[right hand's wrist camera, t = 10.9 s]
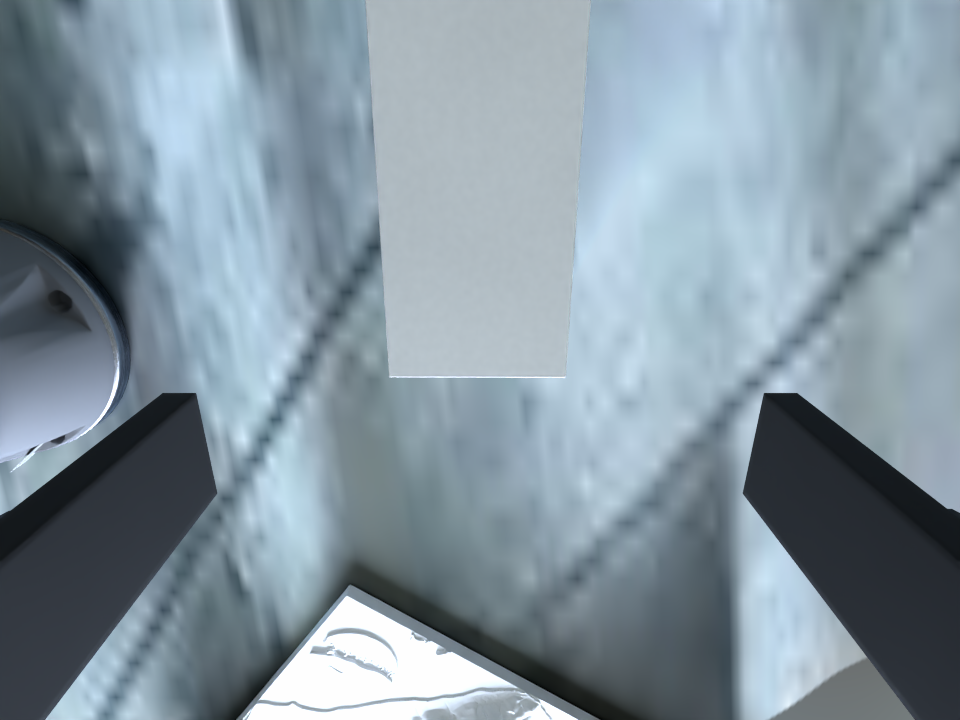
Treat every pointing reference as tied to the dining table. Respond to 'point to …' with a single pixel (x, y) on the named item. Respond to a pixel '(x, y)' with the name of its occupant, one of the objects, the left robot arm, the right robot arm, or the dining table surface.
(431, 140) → the long white beam
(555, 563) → the dining table surface
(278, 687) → the relief map
